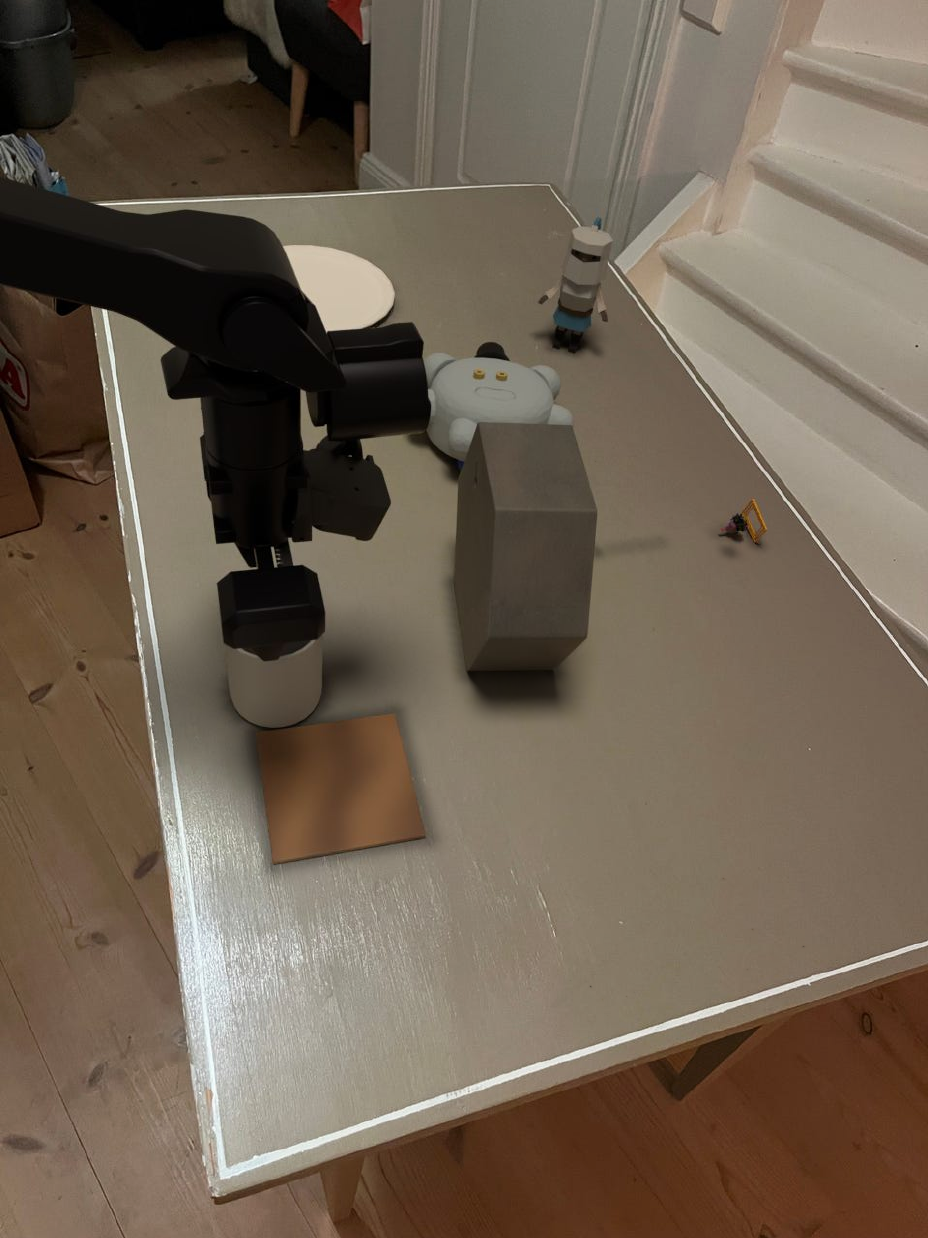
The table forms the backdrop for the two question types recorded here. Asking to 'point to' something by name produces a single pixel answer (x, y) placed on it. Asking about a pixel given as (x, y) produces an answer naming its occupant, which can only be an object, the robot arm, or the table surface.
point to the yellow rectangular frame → (746, 522)
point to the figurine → (487, 396)
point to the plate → (341, 286)
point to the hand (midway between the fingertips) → (263, 610)
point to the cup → (276, 683)
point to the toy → (580, 283)
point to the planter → (523, 547)
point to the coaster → (337, 788)
